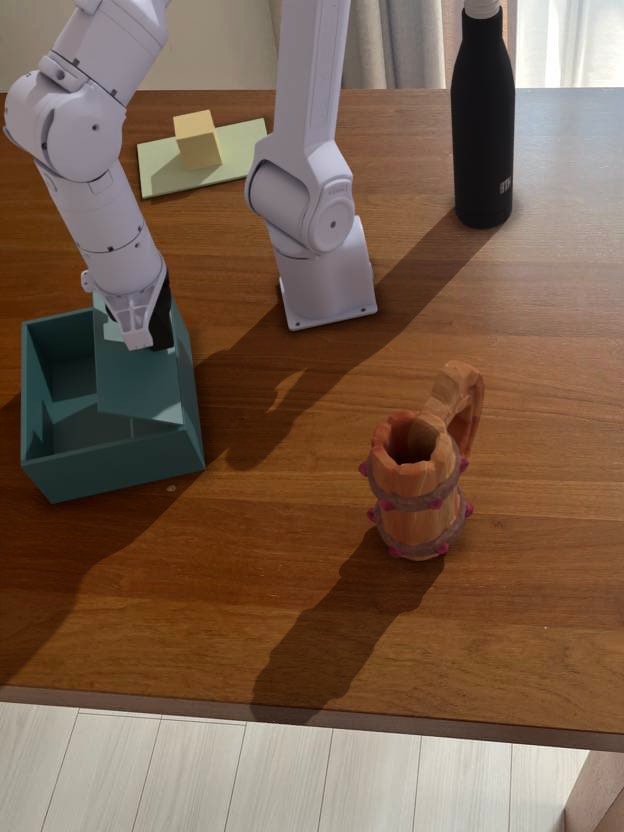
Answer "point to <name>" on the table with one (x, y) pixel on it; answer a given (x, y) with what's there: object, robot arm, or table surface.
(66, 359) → the carton
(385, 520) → the mug
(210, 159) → the block
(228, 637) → the table surface
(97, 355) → the flap
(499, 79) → the black insulated flask
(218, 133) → the placemat
